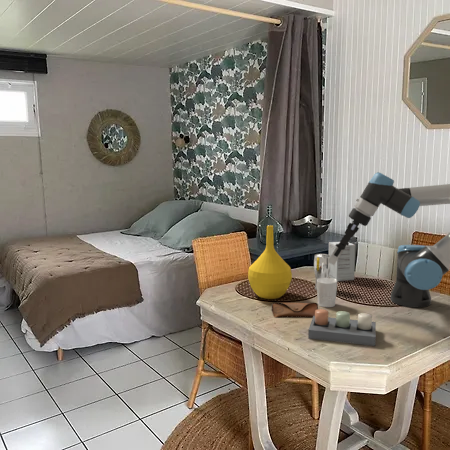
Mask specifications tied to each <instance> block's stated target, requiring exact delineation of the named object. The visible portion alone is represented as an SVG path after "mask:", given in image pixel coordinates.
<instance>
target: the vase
mask: <svg viewBox="0 0 450 450" xmlns="http://www.w3.org/2000/svg"><path fill="white" fill-rule="evenodd" d="M274 237H275V236H274V225H271V224H270V225H267V226H266V240H265V241H266V243H265V244H266V245H265V249H264V250H263V252H262V253H261V254H260V256H258V258H257V259H256V260H255V261H254V262H253V263H252V264H251V265H250V266H249V267H248V272H247V278H248V281H249V285H250V288H251V290H252V291H253V293H254V294H256V295H257V296H258V297H259V298H261V299H265V300H274V299H279V298H281V297H282V296H284V295H285V294H286V292H287V290H289V287H290V286H291V282H292V279H293V274H292V268H291V266H290V265H289V264H288V263H287V262H286V261H285V260H284V259H283V258H282V257H281V255H279V253H278V252H277V251H276V249H275V246H274V243H275V241H274Z"/></svg>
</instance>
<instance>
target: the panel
mask: <svg viewBox="0 0 450 450" xmlns="http://www.w3.org/2000/svg"><path fill="white" fill-rule="evenodd" d="M376 323H377V322H376V321H372V328H371V329H369V330H363V329H360V328H358V319H351V318H350V326H349V327H338V326H337V325H336V317H331V316H330V317H329V316H328V324H327V325H318V324H316V323H315V316H313V318H312V319H311V321H310V324H309V327H308V333H307V335H308V336H307V338H308V339H309V340H310V339H312V340H320V341H327V342H328V341H329V342H335V343H336V342H337V343H345V344H346V343H348V344H354V345H355V344H356V345H363V346H364V345H365V346H372V347H376V338H377V337H376V335H377V334H376V332H377V329H376V327H377V325H376Z"/></svg>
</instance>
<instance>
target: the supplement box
mask: <svg viewBox="0 0 450 450" xmlns="http://www.w3.org/2000/svg"><path fill="white" fill-rule="evenodd" d="M339 243H340V241H329V242H328V255H330V257H331V255H332V253H333V252H334V250H335V249H336V247H337V246H335V245H336V244H339ZM348 243H349V245H348V246H347V245H346V247H345V249H344V250H343V252H342V253H341V255H340V257H339V258H338V260H337V261H336V263H335V265H333V264H331V263H330V272H329V277H328V278H333V279H336V280H337V282H343V281H344V282H346V281H354V280H355V267H356V266H355V264H356V244H353V243H351V242H348Z"/></svg>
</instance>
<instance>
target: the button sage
mask: <svg viewBox="0 0 450 450" xmlns="http://www.w3.org/2000/svg"><path fill="white" fill-rule="evenodd" d="M335 318H336V325H337V326H338V327H349V326H350V319H351V313H350V312H348V311H345V310H343V311H342V310H340V311H337V312H336V313H335Z"/></svg>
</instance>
